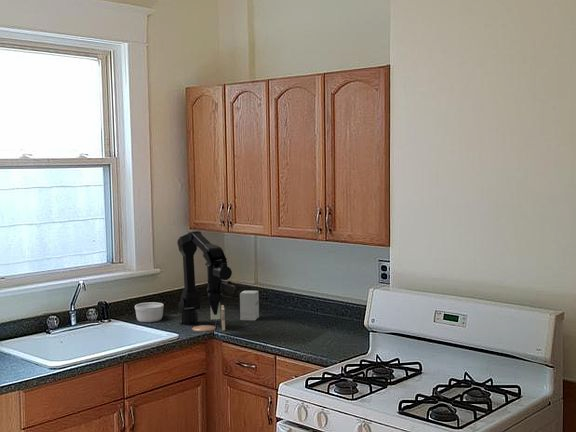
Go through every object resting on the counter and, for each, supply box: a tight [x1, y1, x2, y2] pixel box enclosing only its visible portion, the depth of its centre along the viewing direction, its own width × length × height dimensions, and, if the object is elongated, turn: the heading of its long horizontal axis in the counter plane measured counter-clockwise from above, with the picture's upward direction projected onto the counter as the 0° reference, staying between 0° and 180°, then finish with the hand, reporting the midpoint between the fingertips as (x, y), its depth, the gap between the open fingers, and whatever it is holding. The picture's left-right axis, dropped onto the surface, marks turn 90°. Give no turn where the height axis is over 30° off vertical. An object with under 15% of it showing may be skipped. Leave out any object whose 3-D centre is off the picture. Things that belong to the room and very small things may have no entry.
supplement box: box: [239, 290, 260, 321], centre depth 345 cm, size 7×7×13 cm
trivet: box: [191, 324, 216, 332], centre depth 327 cm, size 10×10×1 cm
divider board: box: [220, 304, 226, 331], centre depth 328 cm, size 10×1×9 cm, turn 6°
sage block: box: [209, 301, 222, 320], centre depth 316 cm, size 4×4×7 cm
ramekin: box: [134, 301, 165, 323], centre depth 348 cm, size 13×13×7 cm
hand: (215, 313), depth 316 cm, fingers closed on sage block, 4 cm apart
